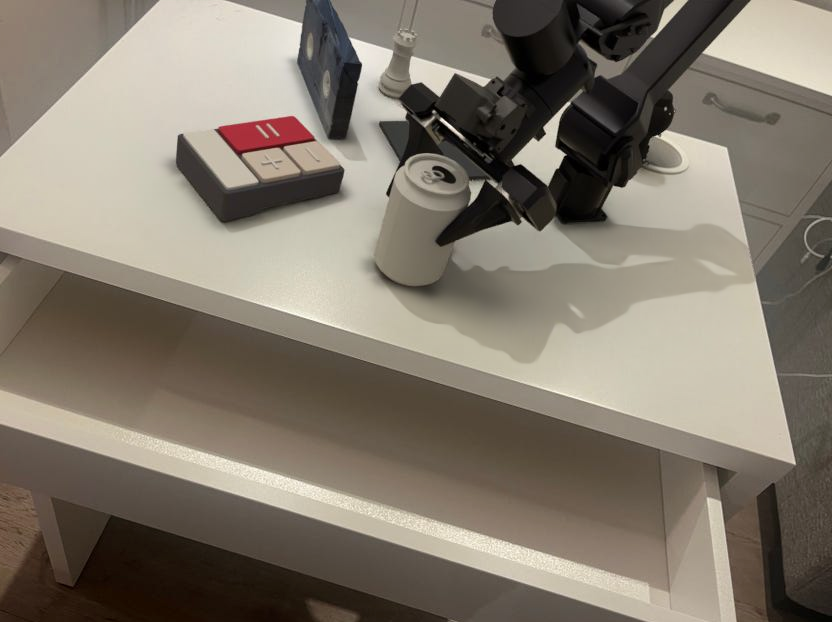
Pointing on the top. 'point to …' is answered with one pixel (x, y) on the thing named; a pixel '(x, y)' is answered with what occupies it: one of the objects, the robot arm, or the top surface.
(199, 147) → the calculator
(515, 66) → the robot arm
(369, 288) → the top surface
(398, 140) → the mat
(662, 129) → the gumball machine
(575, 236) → the top surface
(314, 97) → the vhs cassette tape
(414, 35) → the rook chess piece
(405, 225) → the can
